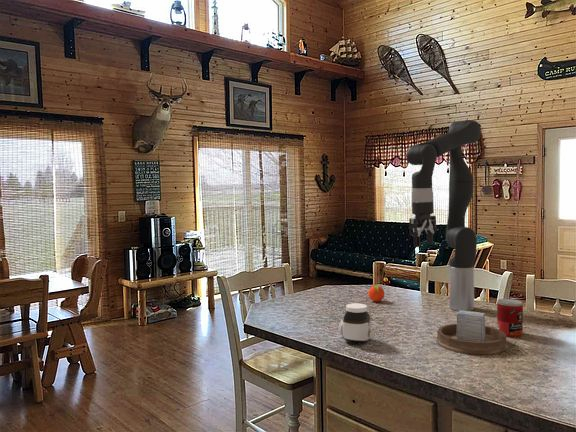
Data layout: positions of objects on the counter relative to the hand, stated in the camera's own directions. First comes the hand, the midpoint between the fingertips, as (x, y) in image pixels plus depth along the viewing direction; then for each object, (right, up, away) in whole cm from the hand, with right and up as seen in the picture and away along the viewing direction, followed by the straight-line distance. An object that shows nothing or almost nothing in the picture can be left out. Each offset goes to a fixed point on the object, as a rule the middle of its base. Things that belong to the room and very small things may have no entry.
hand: (423, 245), depth 173 cm
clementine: (-10, -27, +35) cm, 45 cm away
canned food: (+25, -29, -13) cm, 41 cm away
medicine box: (+9, -29, -22) cm, 37 cm away
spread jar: (-27, -30, -15) cm, 44 cm away
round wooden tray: (+9, -30, -22) cm, 38 cm away
